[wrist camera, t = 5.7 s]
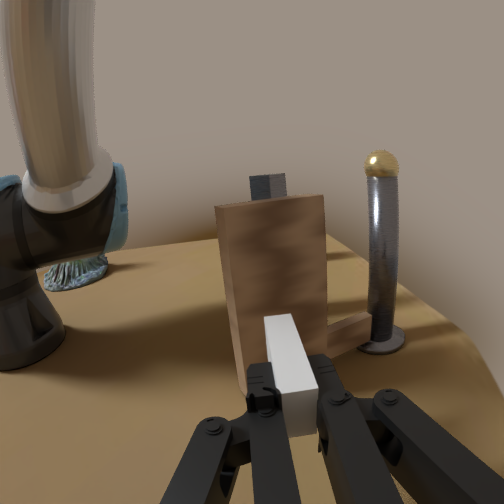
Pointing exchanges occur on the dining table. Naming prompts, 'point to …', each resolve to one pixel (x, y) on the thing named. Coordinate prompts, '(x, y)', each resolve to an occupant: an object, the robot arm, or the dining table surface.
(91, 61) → the robot arm
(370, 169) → the hinge post
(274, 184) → the dark grey bar
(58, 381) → the dining table surface
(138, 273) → the dining table surface
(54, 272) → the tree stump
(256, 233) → the gate
